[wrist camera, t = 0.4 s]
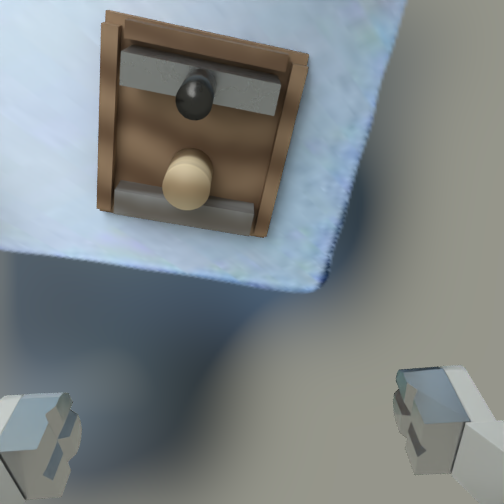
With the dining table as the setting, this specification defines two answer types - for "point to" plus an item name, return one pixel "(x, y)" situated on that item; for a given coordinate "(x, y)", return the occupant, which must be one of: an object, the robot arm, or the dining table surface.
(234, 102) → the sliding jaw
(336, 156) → the dining table surface
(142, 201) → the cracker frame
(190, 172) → the beige wooden cylinder
